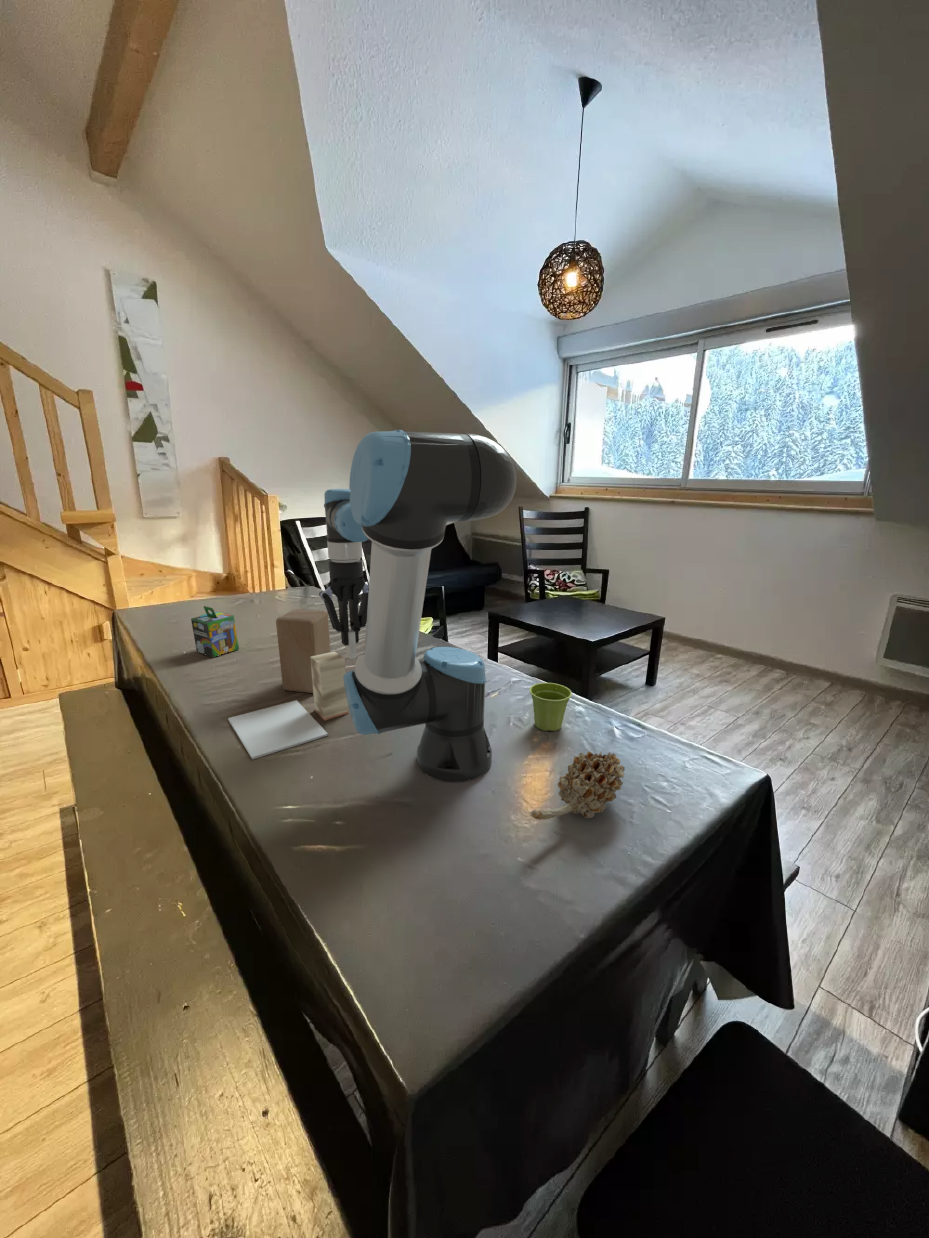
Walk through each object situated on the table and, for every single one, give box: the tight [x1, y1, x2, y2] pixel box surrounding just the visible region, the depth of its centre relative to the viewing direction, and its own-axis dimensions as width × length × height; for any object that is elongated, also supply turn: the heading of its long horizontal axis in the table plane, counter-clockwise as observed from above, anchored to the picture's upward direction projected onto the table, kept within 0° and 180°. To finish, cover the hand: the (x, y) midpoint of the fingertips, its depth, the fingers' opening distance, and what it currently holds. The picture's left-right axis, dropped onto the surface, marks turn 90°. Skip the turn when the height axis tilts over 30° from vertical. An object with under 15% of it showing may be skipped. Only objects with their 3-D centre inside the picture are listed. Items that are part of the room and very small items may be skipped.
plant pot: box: [529, 682, 573, 732], centre depth 116 cm, size 9×9×9 cm
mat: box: [227, 699, 329, 760], centre depth 114 cm, size 20×16×1 cm
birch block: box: [310, 651, 349, 721], centre depth 120 cm, size 6×6×14 cm
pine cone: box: [528, 751, 626, 821], centre depth 85 cm, size 22×10×10 cm, turn 135°
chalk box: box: [190, 605, 240, 658], centre depth 157 cm, size 9×9×15 cm
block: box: [275, 608, 331, 694], centre depth 133 cm, size 10×10×20 cm
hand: (351, 656), depth 121 cm, fingers closed
